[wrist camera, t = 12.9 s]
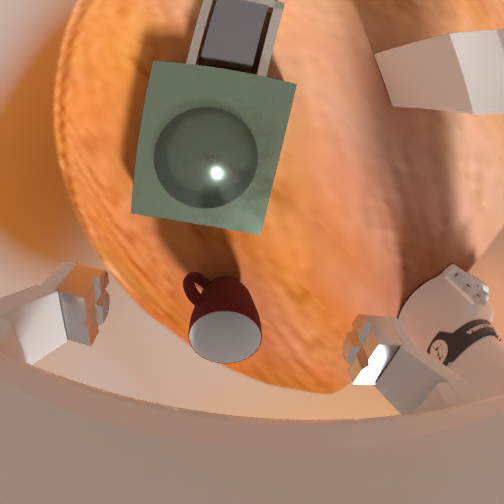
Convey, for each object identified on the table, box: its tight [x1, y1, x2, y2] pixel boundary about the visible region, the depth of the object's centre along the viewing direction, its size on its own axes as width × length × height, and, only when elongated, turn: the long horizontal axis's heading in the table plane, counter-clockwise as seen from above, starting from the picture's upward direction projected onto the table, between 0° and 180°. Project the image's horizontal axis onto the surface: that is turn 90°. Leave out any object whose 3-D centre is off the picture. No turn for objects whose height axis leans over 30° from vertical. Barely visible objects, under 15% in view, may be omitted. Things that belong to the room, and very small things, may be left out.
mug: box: [183, 272, 262, 363], centre depth 35 cm, size 11×8×10 cm
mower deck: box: [131, 0, 297, 235], centre depth 27 cm, size 14×26×6 cm, turn 168°
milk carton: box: [374, 29, 504, 115], centre depth 20 cm, size 7×7×19 cm
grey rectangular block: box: [201, 0, 269, 72], centre depth 24 cm, size 5×7×5 cm
